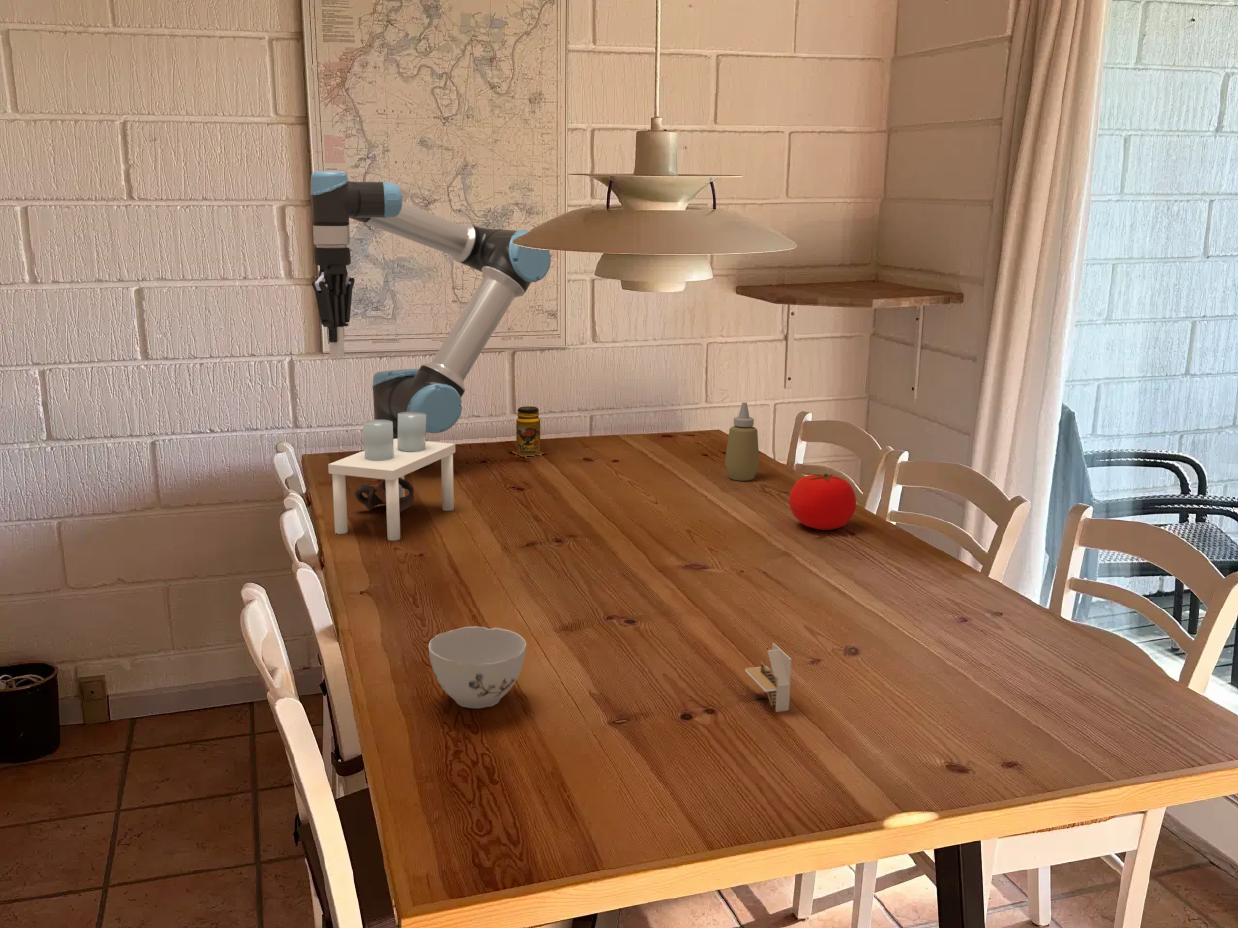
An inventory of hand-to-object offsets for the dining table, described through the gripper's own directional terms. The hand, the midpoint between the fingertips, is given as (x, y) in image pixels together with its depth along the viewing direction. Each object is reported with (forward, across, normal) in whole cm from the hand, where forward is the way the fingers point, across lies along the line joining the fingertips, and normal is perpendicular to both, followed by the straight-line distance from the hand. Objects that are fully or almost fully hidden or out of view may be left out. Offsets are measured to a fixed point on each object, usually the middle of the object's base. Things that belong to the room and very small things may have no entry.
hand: (337, 356), depth 241 cm
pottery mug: (+30, +13, +18) cm, 37 cm away
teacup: (+30, +85, +75) cm, 117 cm away
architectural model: (+30, +73, +112) cm, 137 cm away
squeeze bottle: (+30, -42, +81) cm, 96 cm away
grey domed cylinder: (+16, +13, +25) cm, 32 cm away
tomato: (+30, -9, +105) cm, 109 cm away
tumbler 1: (+16, +22, +23) cm, 35 cm away
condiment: (+30, -47, +24) cm, 61 cm away
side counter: (+29, +18, +24) cm, 42 cm away
